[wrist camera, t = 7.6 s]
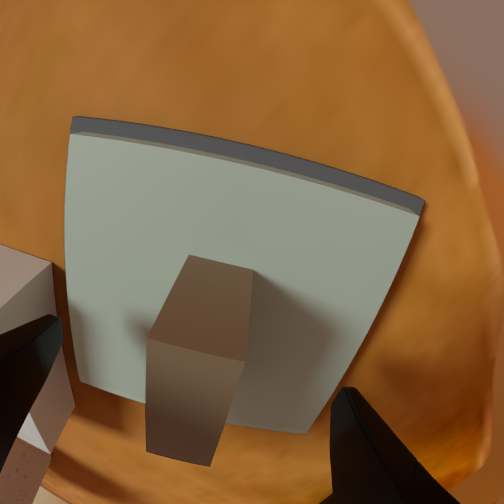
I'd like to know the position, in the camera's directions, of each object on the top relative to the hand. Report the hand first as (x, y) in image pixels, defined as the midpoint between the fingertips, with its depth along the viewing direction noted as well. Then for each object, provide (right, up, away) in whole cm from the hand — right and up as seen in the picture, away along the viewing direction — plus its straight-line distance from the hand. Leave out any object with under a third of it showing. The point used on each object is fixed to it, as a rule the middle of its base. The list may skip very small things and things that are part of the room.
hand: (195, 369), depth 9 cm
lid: (0, +1, +3) cm, 3 cm away
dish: (-13, 0, +4) cm, 13 cm away
